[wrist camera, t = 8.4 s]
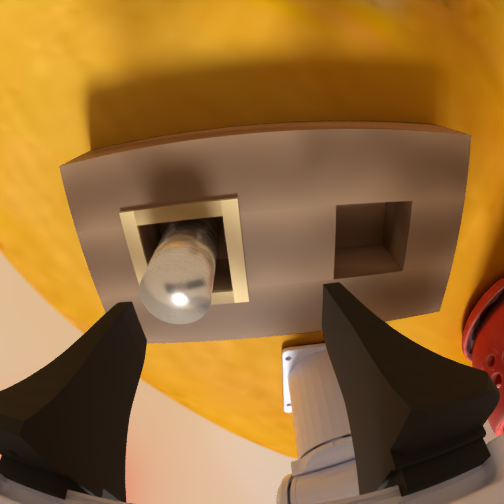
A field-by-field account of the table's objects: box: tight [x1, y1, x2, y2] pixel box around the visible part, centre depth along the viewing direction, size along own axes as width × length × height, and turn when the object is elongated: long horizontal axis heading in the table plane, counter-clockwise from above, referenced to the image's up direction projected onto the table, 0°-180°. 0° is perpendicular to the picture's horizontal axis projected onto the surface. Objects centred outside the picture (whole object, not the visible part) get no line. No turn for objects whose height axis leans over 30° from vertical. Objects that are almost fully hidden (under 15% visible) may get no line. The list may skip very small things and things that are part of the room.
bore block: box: [59, 121, 471, 343], centre depth 18 cm, size 12×22×4 cm, turn 95°
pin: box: [139, 217, 220, 324], centre depth 17 cm, size 3×3×7 cm
